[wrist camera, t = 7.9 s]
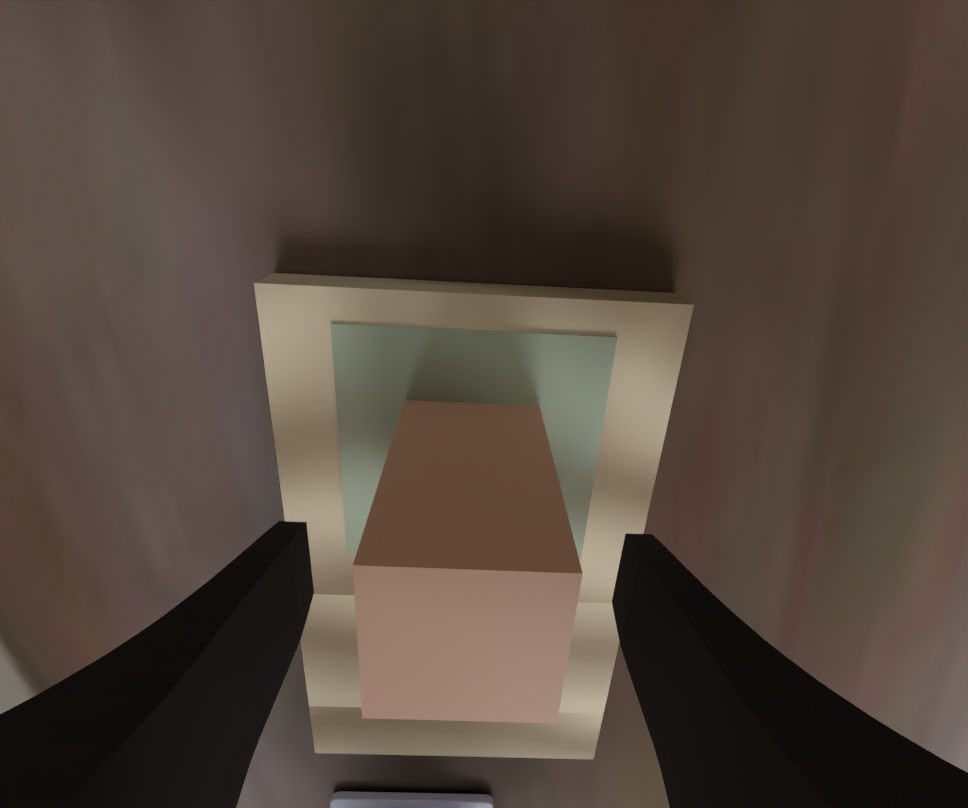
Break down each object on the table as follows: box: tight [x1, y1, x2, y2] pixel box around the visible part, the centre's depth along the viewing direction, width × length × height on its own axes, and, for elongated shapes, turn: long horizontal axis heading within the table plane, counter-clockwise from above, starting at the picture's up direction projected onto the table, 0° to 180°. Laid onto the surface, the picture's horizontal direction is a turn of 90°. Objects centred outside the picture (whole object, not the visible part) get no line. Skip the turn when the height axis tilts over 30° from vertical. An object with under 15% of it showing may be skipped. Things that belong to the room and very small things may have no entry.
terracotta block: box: [353, 400, 583, 723], centre depth 13 cm, size 4×4×7 cm
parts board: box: [254, 273, 694, 759], centre depth 19 cm, size 20×12×2 cm, turn 177°
